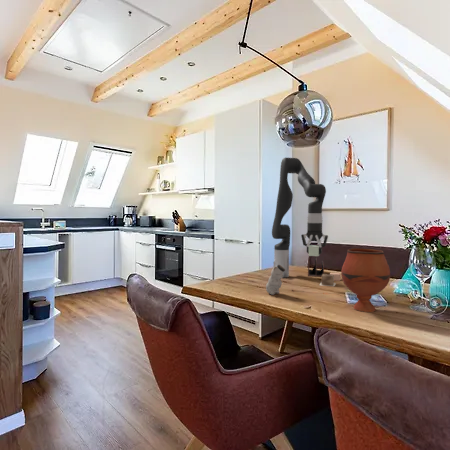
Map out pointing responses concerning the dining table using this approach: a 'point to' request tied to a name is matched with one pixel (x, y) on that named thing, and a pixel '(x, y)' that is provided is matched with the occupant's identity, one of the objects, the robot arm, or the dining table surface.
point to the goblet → (365, 275)
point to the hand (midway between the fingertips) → (314, 254)
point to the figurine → (275, 280)
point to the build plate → (327, 285)
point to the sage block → (313, 250)
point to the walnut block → (327, 279)
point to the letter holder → (315, 269)
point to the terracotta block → (336, 276)
